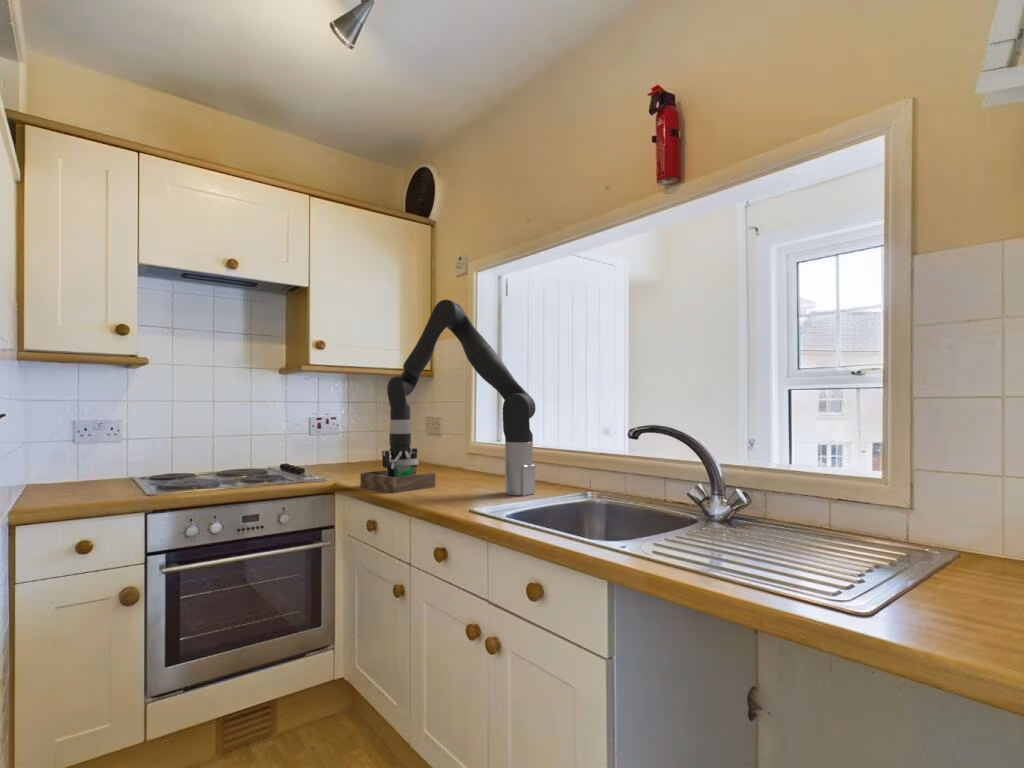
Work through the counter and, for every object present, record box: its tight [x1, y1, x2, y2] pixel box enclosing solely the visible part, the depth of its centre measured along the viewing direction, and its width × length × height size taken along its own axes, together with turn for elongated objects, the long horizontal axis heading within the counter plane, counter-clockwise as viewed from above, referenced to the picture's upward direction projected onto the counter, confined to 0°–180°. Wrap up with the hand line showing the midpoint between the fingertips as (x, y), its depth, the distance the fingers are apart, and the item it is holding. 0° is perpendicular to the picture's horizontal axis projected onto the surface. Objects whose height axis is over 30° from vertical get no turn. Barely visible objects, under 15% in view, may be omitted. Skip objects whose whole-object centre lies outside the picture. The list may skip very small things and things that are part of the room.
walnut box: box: [359, 469, 436, 494], centre depth 193 cm, size 19×18×5 cm
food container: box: [389, 456, 420, 477], centre depth 193 cm, size 12×6×10 cm, turn 73°
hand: (399, 478), depth 194 cm, fingers closed on food container, 7 cm apart
